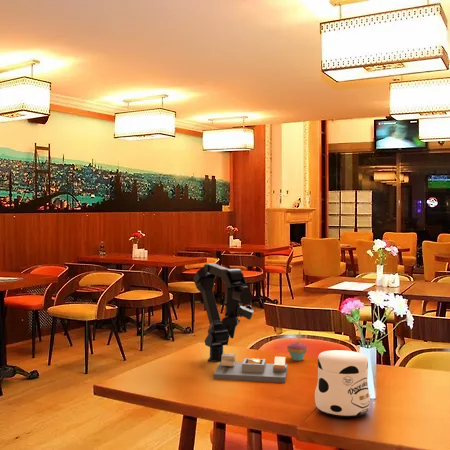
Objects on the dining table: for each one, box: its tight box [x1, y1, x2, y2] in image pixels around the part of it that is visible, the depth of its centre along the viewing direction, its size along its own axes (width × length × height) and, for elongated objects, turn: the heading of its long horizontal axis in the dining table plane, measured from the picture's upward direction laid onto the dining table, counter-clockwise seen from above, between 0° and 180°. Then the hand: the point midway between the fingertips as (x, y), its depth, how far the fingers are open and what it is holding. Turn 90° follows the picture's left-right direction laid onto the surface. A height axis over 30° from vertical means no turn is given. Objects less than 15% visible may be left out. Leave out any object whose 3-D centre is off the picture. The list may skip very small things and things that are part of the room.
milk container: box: [314, 349, 371, 419], centre depth 187 cm, size 17×17×18 cm
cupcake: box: [286, 331, 308, 362], centre depth 250 cm, size 9×8×12 cm
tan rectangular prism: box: [220, 352, 236, 366], centre depth 233 cm, size 4×5×4 cm
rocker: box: [273, 356, 286, 369], centre depth 227 cm, size 7×4×1 cm, turn 171°
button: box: [248, 358, 261, 364], centre depth 228 cm, size 5×5×3 cm
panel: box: [212, 357, 288, 384], centre depth 228 cm, size 18×27×5 cm, turn 81°
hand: (232, 338), depth 238 cm, fingers closed
